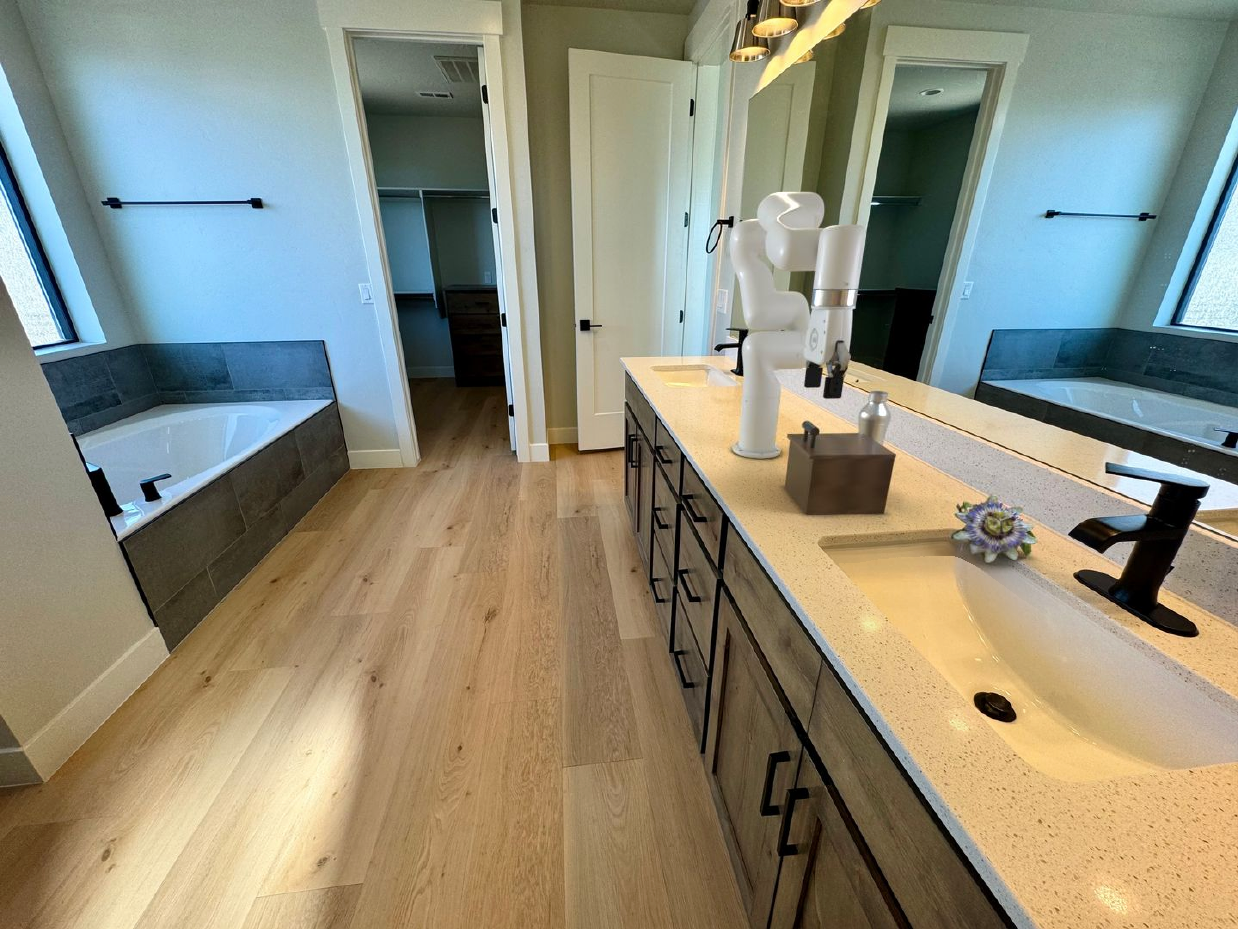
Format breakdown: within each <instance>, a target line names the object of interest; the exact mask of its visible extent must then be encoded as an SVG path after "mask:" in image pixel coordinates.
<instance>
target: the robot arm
mask: <svg viewBox="0 0 1238 929" xmlns="http://www.w3.org/2000/svg"><path fill="white" fill-rule="evenodd" d="M824 216H825V202H824V200H823V198H822V197H821V195H820V194H818V193H817V192H813V191H779V192H773V193H770V194H768V195H767V196H765V197H764V198H763V199H762V200H761V201H760V203H759V205H758V208H757V211H756V218H752V219H751V218H750V219H745V220H741V221H739V222H738V223H736V224H735V225H734V227H732V229H731V232H730V236H729V246H728V248H729V256H730V261H731V264H732V267H733V270H734V272H735V276H736V277H737V280H738V282H739V283H738V284H739V290H740V298H741V306H742V314H743V315H742V316H743V320H744V323H745V325H746V327H747V328H748V329H749V330H752V331H755V332H752V333H749V335H747V336H746V337H745V338H744V340H743V342H742V346H741V356H742V367H743V368H742V370H743V376H742V377H743V379H742V380H743V382H742V396H741V409H740V419H739V420H740V421H739V433H738V434H739V435H738V441H736V442H734V443H733V445H732V451H733V453H735V454H737V455H739V456H741V457H745V458H749V459H759V460H762V459H772V458H776V457H778V456H779V455H780V454H781V451H782V449H781V447H780V446H779V445H778V444H776V441H777V440H776V439H777V431H778V421H779V412H780V403H781V393H782V388H781V387H782V386H781V384H780V381H779V380H778V379H777V377H776V375H775V374H774V371H780V370H798V369H799V370H800V369H804V368H805V375H804V382H803V387H804V388H806V389H815V388H816V389H817V388H820V387H821V386H822V378H823V370H824V368H823V367H822V366H823V365H825V367H826V374H827V376H825V379H824V385H823V392H822V398H824V399H825V400H832V399H833V400H835V399H836V400H837V399H838V400H839V399H842V394H843V388H844V382H845V381H844V380H845V378H846V376H847V370H848V369H849V363H850V361H851V353H850V346H851V339H852V330H853V329H852V328H853V310H855V309H856V307H857V306H856V305H857V300H858V299H857V298H858V292H859V287H860V286H859V284H860V278H861V273H862V272H861V271H862V266H863V265H862V264H863V259H864V258H863V257H864V251H865V245H866V237H867V231H866V229H865V227H864V226H863V225H860V224H835V225H829V226H827V227H820V226H821V224H822V222H823V219H824ZM759 256H766V258H767V259H768V260H769V261H770V262H771V264H772V265H773V266H774V267H775V268H776V269H778V270H781V271H783V272H814V280H813V290H812V294H811V295H812V297H811V305H810V307H809V302H808V300H807V298H806V296H805V295H804V294H803V293H801V292H800V291H799V292H798V291H793V290H791V291H789V290H788V291H787V290H785V291H784V290H783V291H782V290H781V291H780V290H777V289H776V287H775V286H776V285H775V280H774V279H775V278H774V275H773V272H772V271H771V270H770V268H769V267H768V266H767V265H766V263H765V262H764V261H762V260H761V259H760V258H759ZM810 309H811V311H810Z"/></svg>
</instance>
